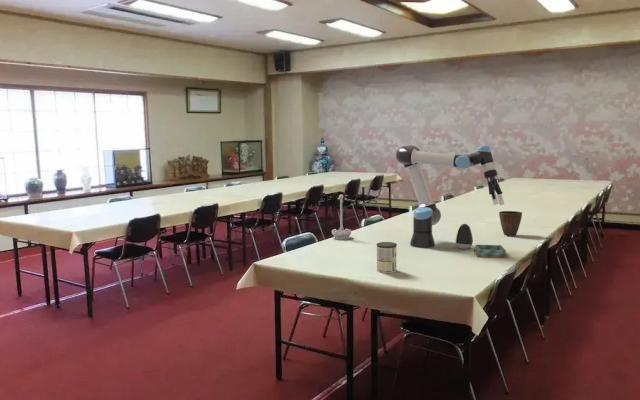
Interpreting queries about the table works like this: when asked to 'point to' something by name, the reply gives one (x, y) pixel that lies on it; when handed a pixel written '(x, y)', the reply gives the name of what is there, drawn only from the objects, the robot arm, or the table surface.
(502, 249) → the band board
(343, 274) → the table surface
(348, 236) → the flag stand
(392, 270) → the coffee can
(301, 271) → the table surface
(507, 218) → the plant pot
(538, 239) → the table surface
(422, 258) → the table surface
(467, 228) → the dark grey glossy oval
